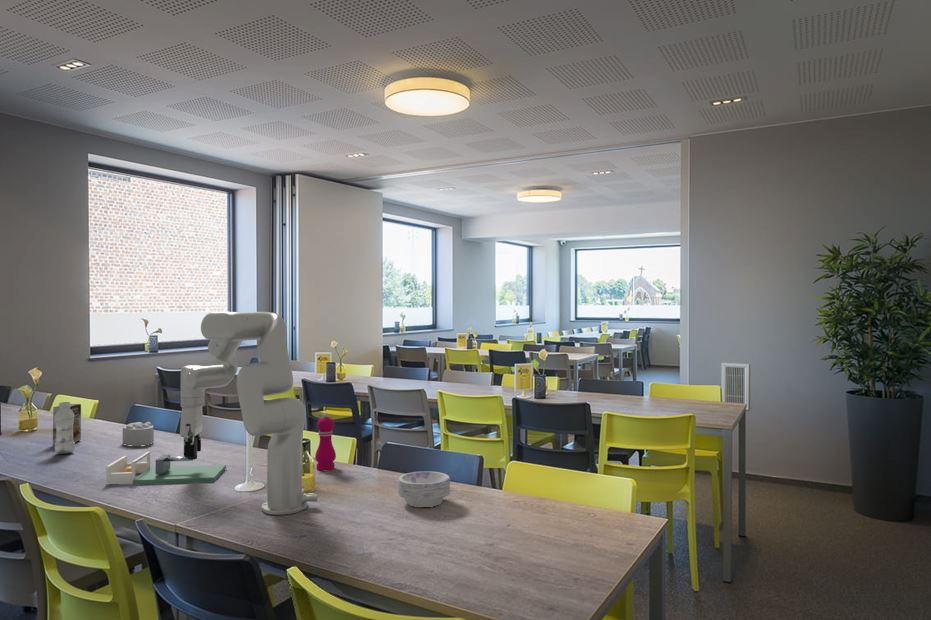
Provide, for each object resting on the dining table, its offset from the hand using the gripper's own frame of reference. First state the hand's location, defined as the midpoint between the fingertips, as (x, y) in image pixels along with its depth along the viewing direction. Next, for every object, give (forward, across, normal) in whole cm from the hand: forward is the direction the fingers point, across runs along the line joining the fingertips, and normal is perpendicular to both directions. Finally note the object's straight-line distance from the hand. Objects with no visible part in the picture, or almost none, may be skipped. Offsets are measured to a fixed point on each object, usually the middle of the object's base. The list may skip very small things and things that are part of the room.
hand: (192, 453), depth 206 cm
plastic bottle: (+8, -40, -59) cm, 72 cm away
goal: (+8, 0, -20) cm, 21 cm away
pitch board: (+8, 0, -4) cm, 9 cm away
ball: (+6, 0, -20) cm, 21 cm away
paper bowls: (+8, +39, +76) cm, 86 cm away
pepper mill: (+8, -4, +44) cm, 45 cm away
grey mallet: (+6, 0, -5) cm, 7 cm away
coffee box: (+8, -59, -67) cm, 90 cm away
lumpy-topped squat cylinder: (+8, -55, -37) cm, 67 cm away
